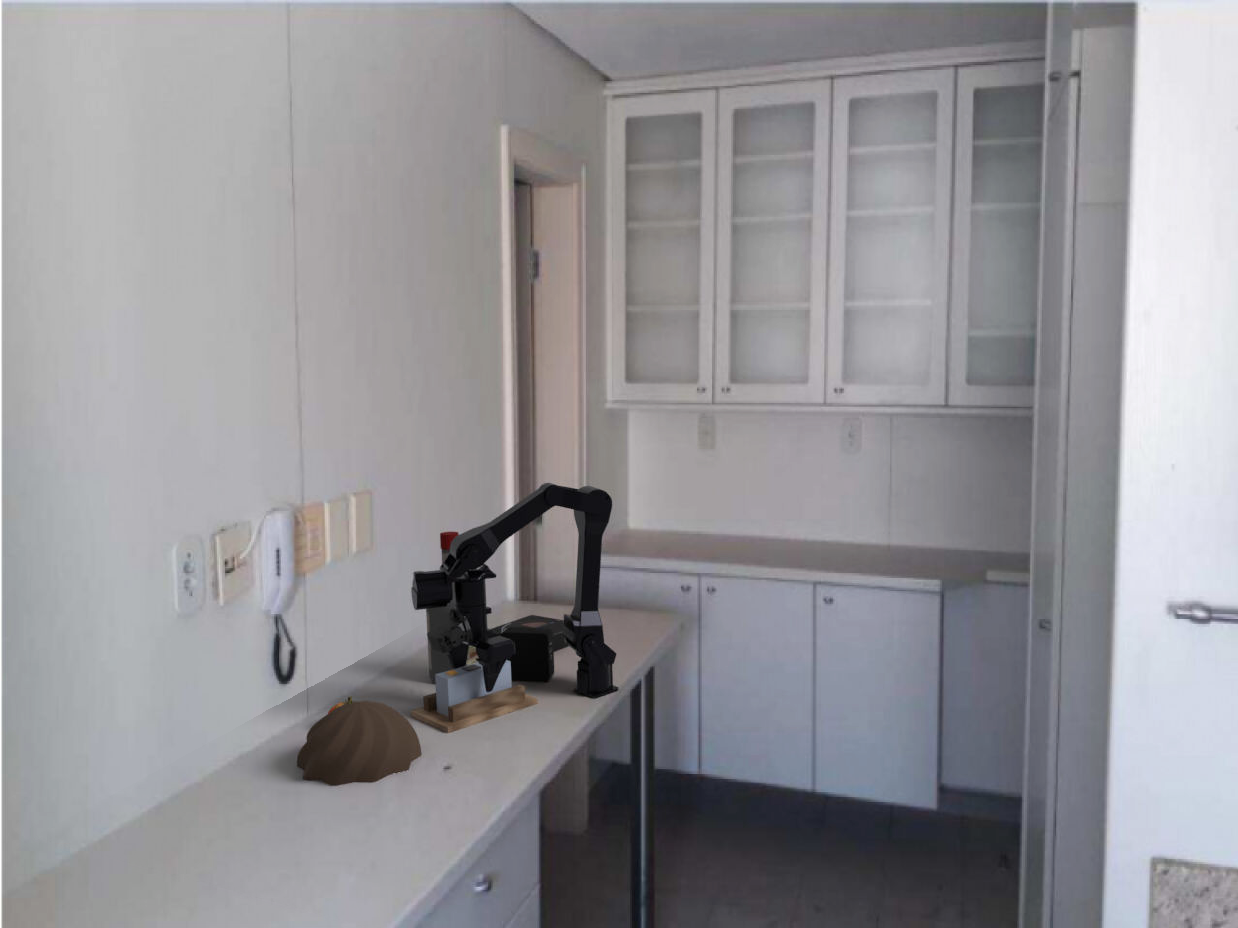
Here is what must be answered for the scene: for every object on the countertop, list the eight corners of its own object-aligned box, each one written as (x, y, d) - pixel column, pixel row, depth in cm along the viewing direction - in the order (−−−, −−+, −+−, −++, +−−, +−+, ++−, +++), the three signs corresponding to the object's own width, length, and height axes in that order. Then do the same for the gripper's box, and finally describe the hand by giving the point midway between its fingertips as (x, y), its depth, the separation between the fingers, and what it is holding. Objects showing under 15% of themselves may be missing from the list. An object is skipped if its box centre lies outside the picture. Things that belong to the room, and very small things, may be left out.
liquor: (424, 683, 201) (417, 536, 198) (448, 669, 210) (441, 528, 206) (463, 687, 198) (457, 538, 194) (486, 673, 206) (480, 530, 203)
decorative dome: (439, 741, 171) (436, 684, 170) (389, 791, 152) (385, 727, 151) (335, 735, 175) (331, 679, 174) (273, 783, 156) (269, 720, 155)
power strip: (499, 692, 191) (497, 654, 190) (512, 697, 188) (510, 659, 188) (437, 711, 182) (435, 672, 181) (449, 717, 179) (447, 676, 178)
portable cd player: (530, 630, 239) (529, 614, 239) (586, 640, 229) (586, 623, 229) (482, 647, 226) (481, 630, 226) (540, 659, 216) (539, 641, 216)
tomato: (386, 713, 180) (360, 691, 176) (368, 748, 176) (341, 726, 172) (356, 712, 185) (331, 691, 181) (338, 746, 181) (312, 725, 177)
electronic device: (549, 682, 199) (547, 633, 198) (501, 680, 201) (499, 632, 200) (554, 675, 204) (553, 628, 202) (507, 674, 206) (505, 626, 204)
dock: (499, 688, 196) (498, 671, 196) (537, 703, 188) (537, 685, 187) (410, 716, 183) (410, 697, 182) (448, 732, 174) (447, 713, 174)
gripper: (405, 603, 184) (409, 685, 186) (463, 621, 171) (467, 709, 172) (455, 592, 192) (459, 671, 194) (515, 608, 178) (518, 693, 180)
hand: (474, 686), depth 185 cm, fingers open, 9 cm apart
